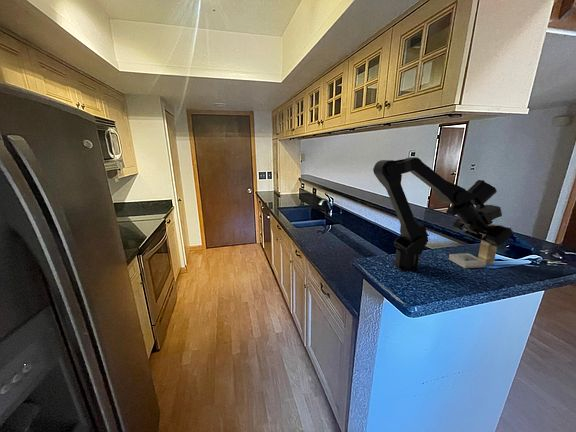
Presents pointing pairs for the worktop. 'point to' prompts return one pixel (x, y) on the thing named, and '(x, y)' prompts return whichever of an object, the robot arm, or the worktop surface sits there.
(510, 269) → the worktop surface
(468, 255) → the socket plate
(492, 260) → the pin
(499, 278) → the worktop surface
